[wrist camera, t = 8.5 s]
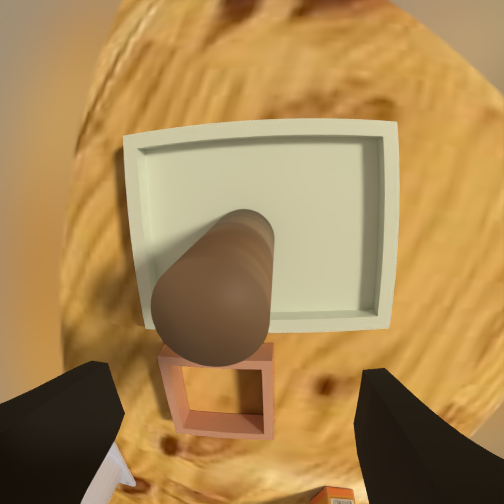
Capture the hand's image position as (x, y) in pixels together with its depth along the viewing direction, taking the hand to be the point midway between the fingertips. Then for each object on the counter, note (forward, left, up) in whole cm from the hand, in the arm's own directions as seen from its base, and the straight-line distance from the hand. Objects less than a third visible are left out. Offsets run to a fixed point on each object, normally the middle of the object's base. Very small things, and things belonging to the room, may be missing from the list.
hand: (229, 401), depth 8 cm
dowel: (-1, +2, -10) cm, 10 cm away
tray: (0, +3, -10) cm, 11 cm away
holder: (-3, -8, -10) cm, 13 cm away
